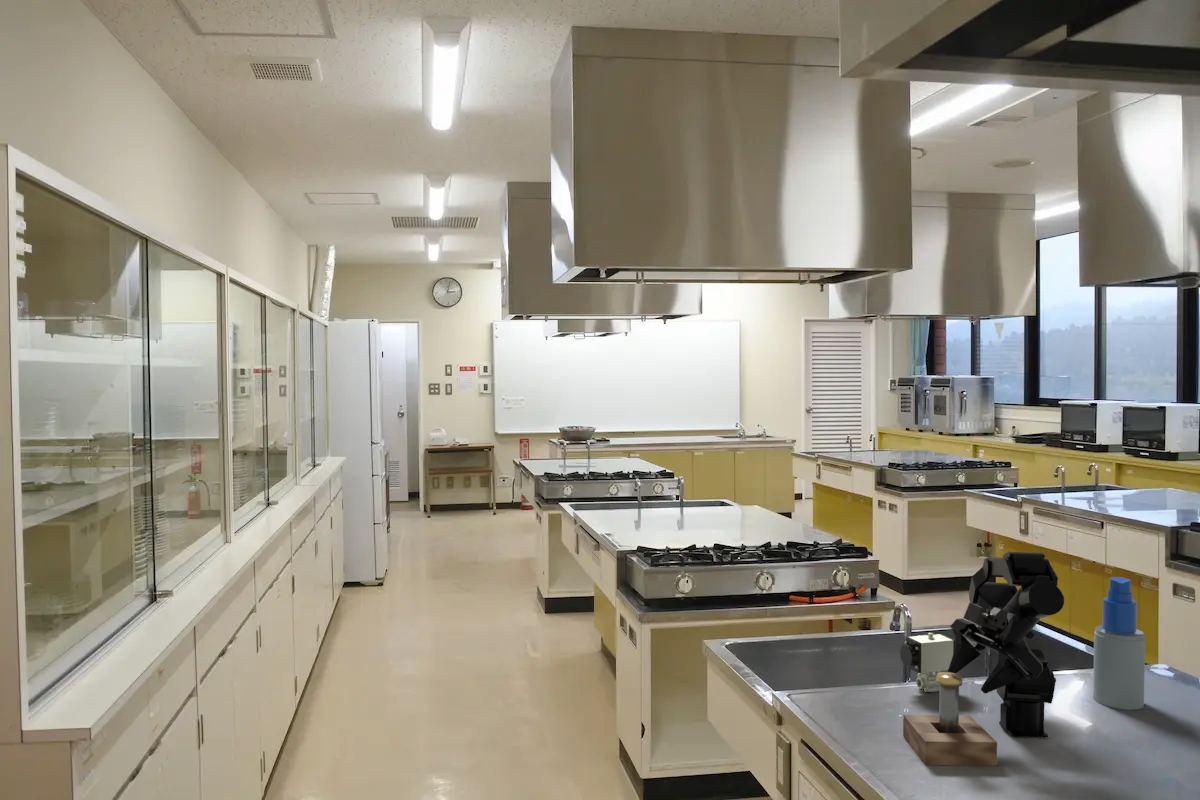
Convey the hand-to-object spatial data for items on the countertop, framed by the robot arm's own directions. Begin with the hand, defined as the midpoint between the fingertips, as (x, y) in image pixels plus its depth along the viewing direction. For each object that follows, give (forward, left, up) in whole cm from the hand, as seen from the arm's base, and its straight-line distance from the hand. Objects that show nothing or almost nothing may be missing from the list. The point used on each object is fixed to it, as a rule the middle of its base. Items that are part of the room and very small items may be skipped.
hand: (965, 682), depth 161 cm
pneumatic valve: (-3, -28, -11) cm, 30 cm away
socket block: (+4, +3, -11) cm, 12 cm away
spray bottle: (-39, -22, -11) cm, 46 cm away
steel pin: (+4, +3, -11) cm, 12 cm away
